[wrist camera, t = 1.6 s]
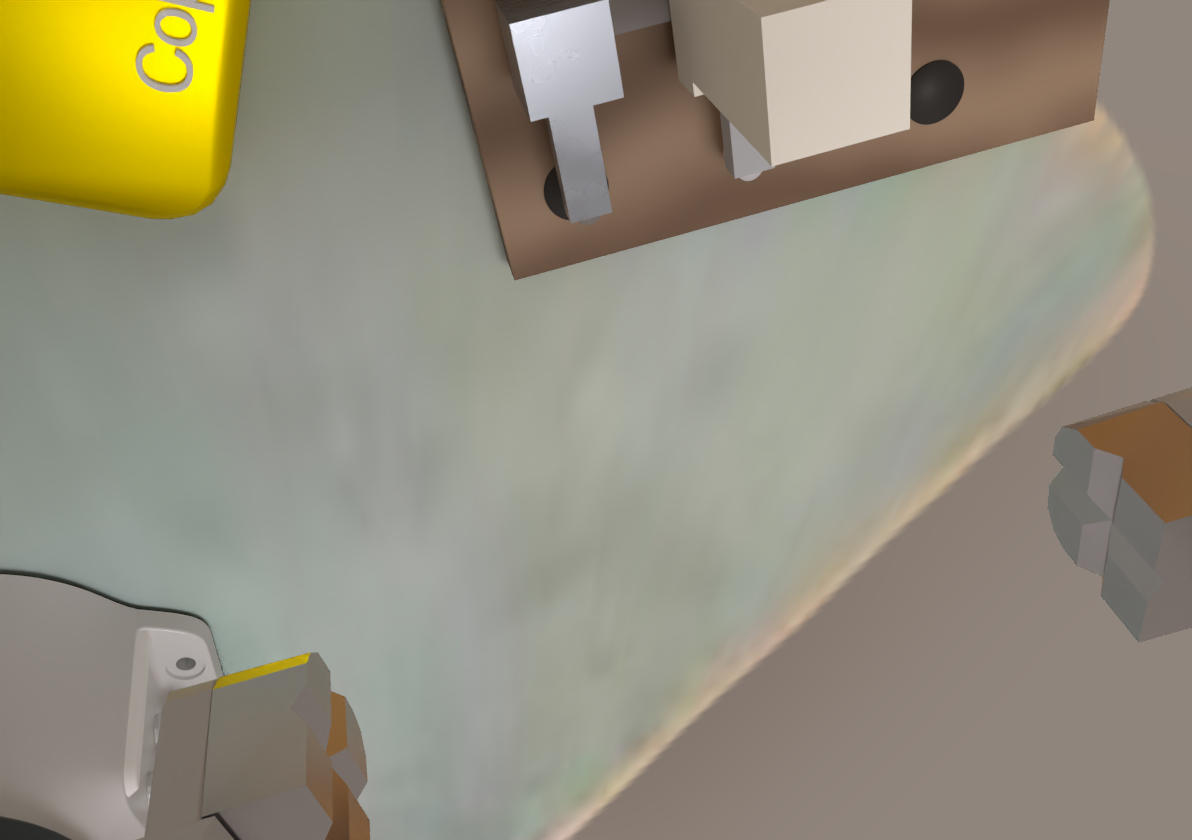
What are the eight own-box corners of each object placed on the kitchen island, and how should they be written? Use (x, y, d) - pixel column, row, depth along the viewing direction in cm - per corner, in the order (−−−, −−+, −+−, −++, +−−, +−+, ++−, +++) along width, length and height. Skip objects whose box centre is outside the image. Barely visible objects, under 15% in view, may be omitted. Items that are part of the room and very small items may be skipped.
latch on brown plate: (1071, 107, 43) (1109, 129, 41) (508, 262, 41) (519, 293, 39) (1110, -229, 36) (1158, -222, 34) (425, -60, 34) (434, -42, 32)
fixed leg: (620, 196, 38) (646, 238, 36) (541, 217, 38) (561, 261, 35) (581, -31, 33) (608, -1, 31) (490, -7, 33) (509, 24, 30)
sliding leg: (788, 150, 39) (907, 269, 31) (685, 178, 38) (782, 305, 31) (772, -112, 33) (913, -43, 26) (651, -83, 33) (759, -3, 25)
